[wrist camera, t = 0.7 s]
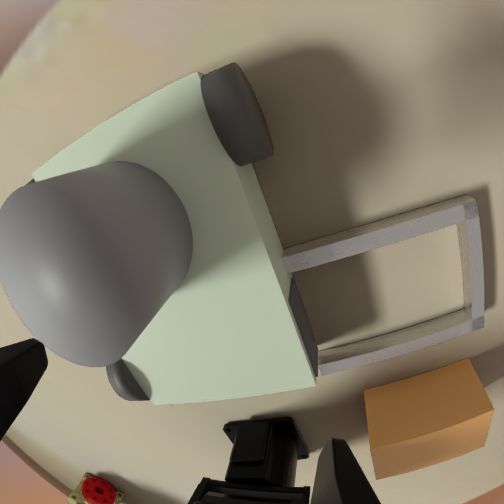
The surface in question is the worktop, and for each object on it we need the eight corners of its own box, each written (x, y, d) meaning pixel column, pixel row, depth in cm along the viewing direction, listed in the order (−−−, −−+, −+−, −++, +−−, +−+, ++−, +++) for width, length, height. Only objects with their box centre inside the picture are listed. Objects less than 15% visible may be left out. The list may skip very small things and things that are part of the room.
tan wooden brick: (467, 395, 21) (486, 445, 16) (370, 424, 24) (376, 479, 18) (470, 355, 20) (497, 408, 15) (363, 389, 23) (370, 449, 17)
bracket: (475, 315, 19) (483, 326, 17) (321, 361, 22) (321, 375, 21) (465, 194, 16) (476, 200, 15) (282, 249, 19) (280, 258, 18)
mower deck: (338, 340, 21) (346, 463, 12) (156, 373, 25) (103, 462, 16) (245, 72, 16) (178, 14, 7) (57, 172, 20) (-52, 209, 11)
